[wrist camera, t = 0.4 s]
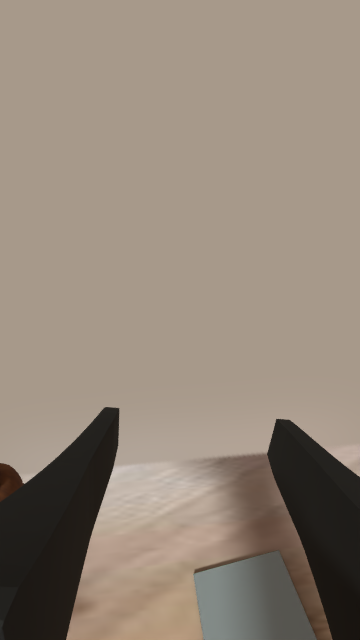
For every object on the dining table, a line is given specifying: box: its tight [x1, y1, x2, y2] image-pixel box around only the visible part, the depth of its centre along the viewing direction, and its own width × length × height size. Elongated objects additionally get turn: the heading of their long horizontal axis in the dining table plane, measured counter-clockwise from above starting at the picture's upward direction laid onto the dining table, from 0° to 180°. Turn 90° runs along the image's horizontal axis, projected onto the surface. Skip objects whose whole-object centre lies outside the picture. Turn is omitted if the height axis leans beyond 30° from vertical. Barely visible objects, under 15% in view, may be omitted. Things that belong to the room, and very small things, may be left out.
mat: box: [193, 550, 317, 640], centre depth 19 cm, size 8×8×1 cm
